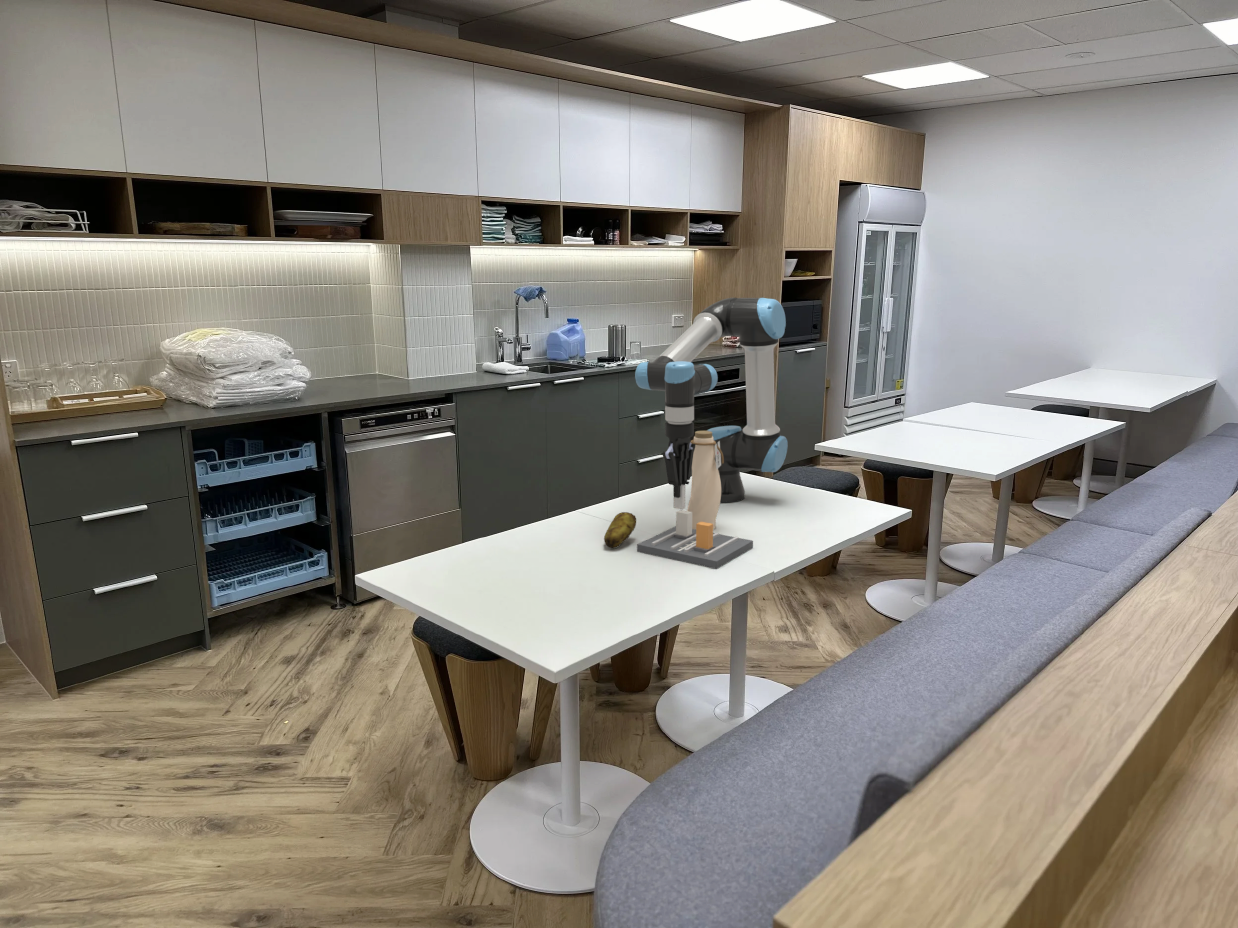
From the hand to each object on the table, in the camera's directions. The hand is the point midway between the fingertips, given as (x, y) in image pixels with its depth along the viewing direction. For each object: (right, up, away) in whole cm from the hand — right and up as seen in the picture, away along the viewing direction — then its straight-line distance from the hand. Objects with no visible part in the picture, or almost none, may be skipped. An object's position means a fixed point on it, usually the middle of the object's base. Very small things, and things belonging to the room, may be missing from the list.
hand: (679, 508), depth 230 cm
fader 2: (+6, -10, -7) cm, 14 cm away
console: (+4, -11, 0) cm, 12 cm away
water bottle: (+9, -7, +19) cm, 22 cm away
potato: (-16, -10, +5) cm, 20 cm away
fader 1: (+2, -8, +4) cm, 9 cm away
